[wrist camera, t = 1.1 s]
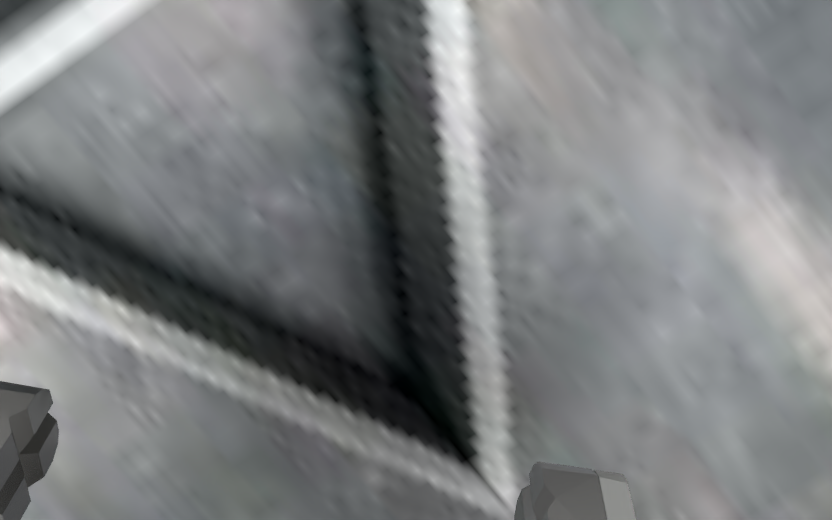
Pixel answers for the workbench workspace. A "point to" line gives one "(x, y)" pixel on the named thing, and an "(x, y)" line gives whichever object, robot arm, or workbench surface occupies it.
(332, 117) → the workbench surface
